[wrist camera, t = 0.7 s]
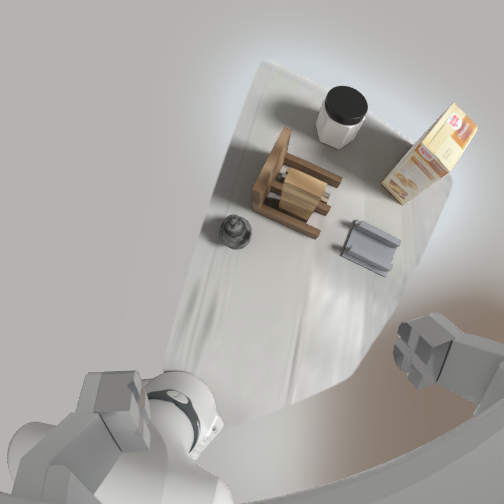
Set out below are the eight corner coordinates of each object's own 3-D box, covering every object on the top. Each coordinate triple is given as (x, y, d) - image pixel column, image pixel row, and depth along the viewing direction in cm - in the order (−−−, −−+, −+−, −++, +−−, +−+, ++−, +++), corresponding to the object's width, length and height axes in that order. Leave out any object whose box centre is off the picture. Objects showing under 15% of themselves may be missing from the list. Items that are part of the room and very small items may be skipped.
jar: (312, 116, 66) (321, 83, 54) (346, 115, 66) (360, 84, 54) (320, 150, 64) (332, 121, 52) (356, 148, 64) (373, 120, 53)
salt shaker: (219, 224, 62) (210, 205, 50) (249, 218, 62) (247, 198, 50) (224, 253, 61) (216, 242, 49) (254, 247, 61) (254, 234, 49)
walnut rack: (315, 239, 61) (329, 224, 50) (252, 210, 62) (251, 189, 51) (339, 183, 63) (355, 158, 51) (279, 156, 64) (283, 126, 52)
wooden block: (305, 224, 62) (321, 197, 46) (277, 211, 62) (284, 180, 47) (310, 212, 62) (327, 183, 46) (282, 200, 63) (290, 167, 47)
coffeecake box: (402, 206, 62) (450, 173, 43) (379, 183, 63) (419, 141, 44) (434, 165, 64) (479, 127, 45) (413, 144, 65) (453, 100, 45)
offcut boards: (323, 207, 62) (327, 202, 59) (277, 186, 63) (278, 180, 60) (329, 194, 63) (333, 188, 59) (284, 173, 64) (285, 166, 60)
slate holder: (384, 277, 60) (391, 275, 57) (341, 256, 61) (346, 253, 57) (397, 241, 61) (404, 237, 58) (355, 220, 62) (361, 215, 58)
